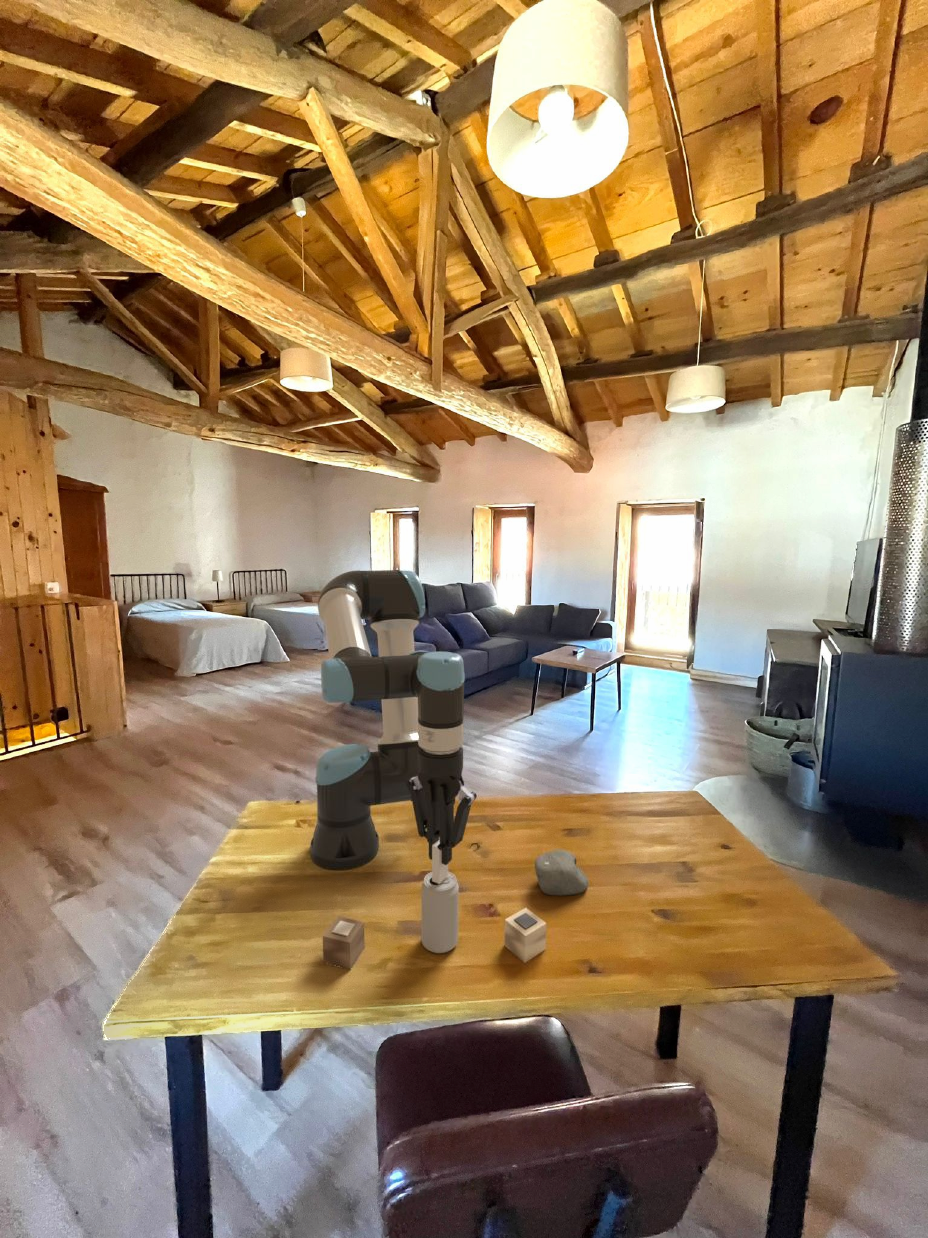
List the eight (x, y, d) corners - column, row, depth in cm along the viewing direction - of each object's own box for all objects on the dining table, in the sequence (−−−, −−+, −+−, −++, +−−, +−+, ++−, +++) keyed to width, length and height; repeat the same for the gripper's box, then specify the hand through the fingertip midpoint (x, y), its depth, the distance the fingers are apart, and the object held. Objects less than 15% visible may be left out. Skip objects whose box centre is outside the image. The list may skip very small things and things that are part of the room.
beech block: (504, 945, 94) (505, 918, 93) (525, 933, 97) (525, 906, 96) (524, 963, 90) (525, 935, 89) (545, 949, 93) (546, 922, 92)
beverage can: (421, 930, 97) (421, 869, 95) (456, 929, 98) (457, 867, 96) (421, 957, 91) (421, 892, 89) (459, 955, 91) (460, 890, 90)
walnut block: (323, 963, 89) (322, 935, 89) (338, 942, 94) (337, 915, 93) (350, 970, 88) (349, 941, 87) (364, 948, 93) (364, 921, 92)
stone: (595, 900, 106) (573, 857, 105) (554, 919, 106) (532, 877, 105) (585, 872, 115) (565, 833, 114) (547, 890, 115) (527, 851, 114)
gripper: (395, 745, 89) (396, 877, 93) (462, 762, 83) (460, 904, 86) (421, 732, 96) (422, 856, 99) (486, 747, 89) (484, 879, 92)
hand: (440, 878), depth 92 cm, fingers closed
